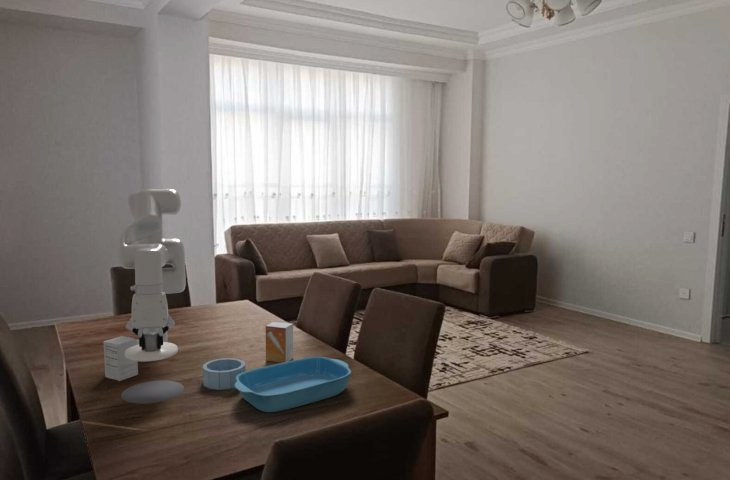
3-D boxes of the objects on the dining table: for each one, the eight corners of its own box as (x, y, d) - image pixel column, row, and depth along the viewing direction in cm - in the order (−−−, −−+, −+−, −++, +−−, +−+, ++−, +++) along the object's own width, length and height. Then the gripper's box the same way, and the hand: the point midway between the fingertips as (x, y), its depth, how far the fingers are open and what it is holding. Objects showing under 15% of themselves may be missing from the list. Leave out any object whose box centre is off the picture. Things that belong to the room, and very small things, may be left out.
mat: (107, 401, 164) (107, 399, 164) (145, 379, 182) (145, 378, 182) (161, 407, 160) (161, 406, 160) (195, 385, 177) (195, 383, 177)
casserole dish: (254, 424, 151) (254, 398, 150) (222, 397, 169) (221, 374, 168) (364, 393, 173) (365, 370, 172) (325, 372, 190) (325, 352, 190)
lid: (113, 358, 165) (112, 338, 164) (145, 342, 179) (144, 324, 178) (158, 363, 161) (158, 343, 160) (187, 347, 175) (186, 328, 175)
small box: (265, 361, 201) (265, 325, 199) (273, 355, 207) (273, 321, 205) (286, 363, 198) (285, 327, 197) (293, 358, 204) (293, 323, 203)
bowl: (195, 388, 175) (194, 369, 174) (216, 374, 187) (215, 356, 186) (233, 392, 171) (233, 373, 171) (252, 377, 184) (251, 360, 183)
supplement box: (124, 371, 189) (122, 335, 187) (138, 375, 185) (137, 338, 184) (104, 378, 183) (102, 340, 181) (119, 382, 179) (117, 344, 177)
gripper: (117, 293, 161) (119, 354, 164) (178, 290, 166) (180, 350, 168) (120, 287, 169) (123, 346, 171) (179, 285, 173) (181, 342, 176)
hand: (151, 347), depth 170 cm, fingers closed on lid, 4 cm apart
